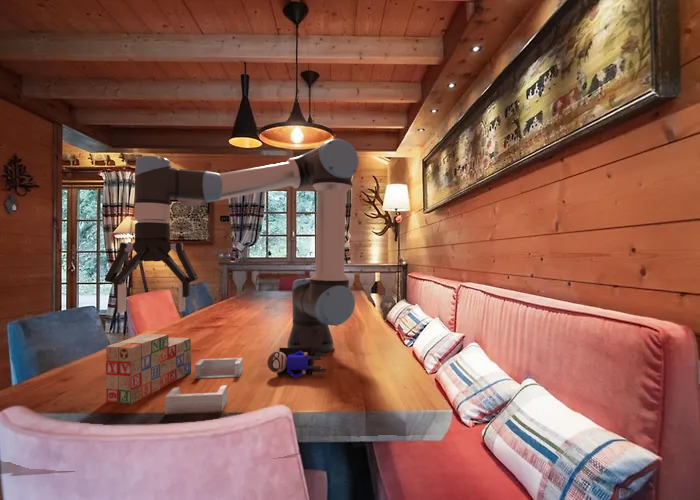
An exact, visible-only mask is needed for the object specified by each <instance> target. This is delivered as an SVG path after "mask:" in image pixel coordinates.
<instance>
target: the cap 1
mask: <svg viewBox="0 0 700 500" xmlns="http://www.w3.org/2000/svg"><path fill="white" fill-rule="evenodd" d="M180 389H181V388H180V387H179V386H178V387H173V388H172V389H171V390H170V391H169V392H168V393H167V394H166V395H165V396H164V415H165V416H166V415H186V414H205V413H222V412H223V411H224V409H225V407H226V405H227V403H228V385H226V384H225V385H220V387H219V389H218V390H217V392H198V393H197V392H196V393H181V390H180Z"/></svg>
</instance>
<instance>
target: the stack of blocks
mask: <svg viewBox="0 0 700 500" xmlns="http://www.w3.org/2000/svg"><path fill="white" fill-rule="evenodd" d="M191 345H192V343H191V338H188V337H169V334H167V333H166V334H161V333H160V334H159V333H145V334H141V335H138V336H134V337H130V338H129V339H125V340H122V341H119V342H115V343H112V344H109V345H107V346H106V347H105V348H106V349H105V351H106V352H105V355H106V360H105V378H106V388H105V389H106V390H105V391H106V392H105V393H106V394H105V395H106V403H115V404H125V403H128V405H132V404H134V403H136V402H138V401H139V399H140V400H142V399H144V398H146V397H148V396H150V395H152V394H154V393H155V391H156V392H157V390H158V391H160V390H161V389H162V387H163V388H165V387H166V386H168V385H170V384H172V383H174V382H175V381H178V380H179V379H181V378H183V377H185V376H187V375H189V374H190V373H192V348H191ZM164 386H165V387H164ZM160 388H161V389H160ZM153 392H154V393H153ZM151 393H152V394H151ZM149 394H150V395H149ZM147 395H148V396H147ZM145 396H146V397H145ZM143 397H144V398H143ZM141 398H142V399H141ZM137 400H138V401H137ZM135 401H136V402H135ZM133 402H134V403H133Z"/></svg>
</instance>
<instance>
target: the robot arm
mask: <svg viewBox="0 0 700 500" xmlns="http://www.w3.org/2000/svg"><path fill="white" fill-rule="evenodd" d="M359 161H360V160H359V156H358V153H357V151H356V149H355V148H354V147H353V146H352V144H351V143H349V142H348V141H346V140H344V139H341V138H332V139H330V140H326V141H324V142H323V143H322V144H320V145H319V146H317V147H315V148H313V149H312V150H310V151H308V152H306V153H304V154H301V155H299V156H295V157H290V158H288V159H287V160H286V162H280V163H275V164H268V165H263V166H257V167H251V168H245V169H239V170H233V171H226V172H221V173H218V172H213V171H209V170H195V169H184V168H183V169H182V168H175V167H172V165H171V161H170V159H168V158H166V157H160V156H156V155H155V156H154V155H142V156H139V157H137V158H136V160H135V169H134V220H135V221H136V223H135V224H134V242H133V243H130V242H124V241H123V242H120V243H119V249H118V252H117V255H116V256H115V258H114V260H113V262H112V264H111V266H110V267H109V270H108V271H107V274H106V275H105V277H104V281H105V282H107V283H108V282H109V283H111V284H112V285H113V298H115V299H117V313H118V314H119V313H123V312H124V313H125V312H127V285H128V284H127V283H124V281H125V280H126V279H127V278H128V277H129V276H130V275H131V274H132V273H133V272H134V271H135V269H136V268H137V267H138V266H139V265H140V264H141V263H142V262H162V263H163V264H165V265H166V266H167V267H168V269H170V271H171V272H172V273H173V274H174V275H175V276H176V278H178V279H179V281H180V282H181V283H179V284H178V312H179V313H181V312H184V311H186V298H188V297H190V293H191V291H190V290H191V289H190V288H191V287H190V284H191V283H193V282H194V281H197V280H198V278H199V277H198V275H197V273H196V272H195V268H193V265H192V263H191V261H190V259H189V257H188V256H187V253H186V251H185V244H184V243H183V242H177V243H171V225H170V224H169V223H168V222H170V221H171V200H177V201H178V202H179V203H180V204H181V205H182V206H184V207H189V208H193V207H197V206H199V205H203V204H208V203H213V202H219V201H223V200H227V199H232V198H237V197H238V198H239V197H243V196H248V195H252V194H253V195H254V194H258V193H263V192H267V191H268V192H269V191H274V190H278V189H284V188H288V187H291V188H293V189H300V188H306V187H307V188H308V187H312V188H313V189H314V190H315V191H316V193H317V194H316V195H317V196H316V197H317V198H316V200H317V201H316V232H315V235H316V236H315V270H314V273H313V274H312V275H311V276H310V278H308V277H307V278H299V279H295V280H293V282H292V289H291V292H292V298H291V299H292V301H291V302H292V327H291V329H290V333H289V336H288V339H287V341H286V342H287V344H286V348H311V347H313V348H314V353H328V352H331V351H333V350H334V339H333V336H332V333H331V329H330V327H329V326H334V327H335V326H339V325H342V324H344V323H345V322H347V321H348V320H349V318H351V316H352V315H353V313H354V310H355V306H356V299H355V295H354V293H353V292H352V291H351V290H350V287H349V286H350V283H349V282H350V278H349V277H348V276H347V274H346V273H345V247H346V246H345V245H346V244H345V240H346V238H345V237H346V209H347V207H346V205H347V204H346V203H347V202H346V201H347V193H348V192H349V191H350V190H351V189H352V179H353V178H352V176H354V175H355V174H356V172H357V170H358V168H359ZM132 250H133V251H134V252H135V255H134V256H133V257H132V258H131V260H130V261H129V262H128V264H127V265H126V266H125V267H124V268H123V269H122V267H123V265H124V263H125V261H126V260H127V257H128V256H129V253H130V252H132ZM171 250H173V252H175V253H176V255H177V257H178V259H179V262H180V263H181V265H182V267H183V269H184V270H185V272H184V271H183V270H182V269H181V267H180V266H179V265H178V264H177V262H175V260H173V258H172V257H171V255H170V251H171ZM121 269H122V270H121ZM119 272H120V273H119Z"/></svg>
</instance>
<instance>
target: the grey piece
mask: <svg viewBox="0 0 700 500" xmlns="http://www.w3.org/2000/svg"><path fill="white" fill-rule="evenodd" d="M243 362H244V361H243V357H230V358H229V357H227V358H226V357H225V358H202V359H199V360H198V361H197V362H196V364H194V379H196V380H198V379H199V380H202V379H223V378H239V377H241V375H242V373H243V366H244V365H243Z"/></svg>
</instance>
